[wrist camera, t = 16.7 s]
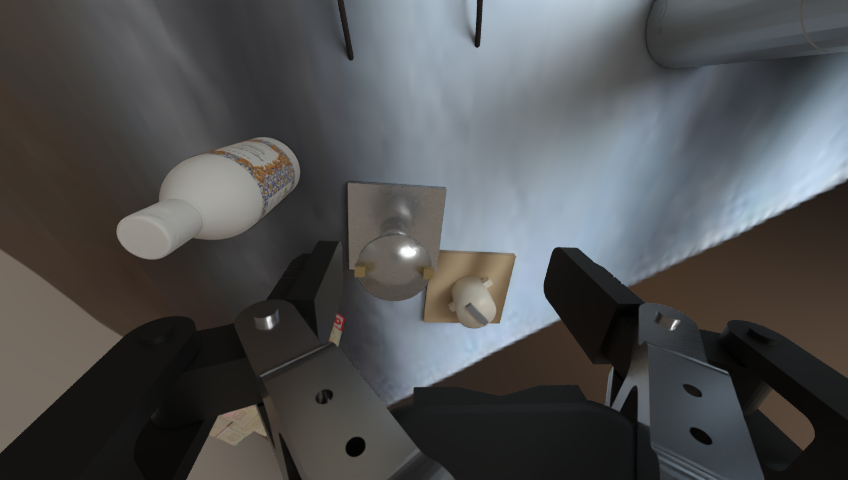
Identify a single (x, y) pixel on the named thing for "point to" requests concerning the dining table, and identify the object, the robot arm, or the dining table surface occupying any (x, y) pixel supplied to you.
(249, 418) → the stack of blocks
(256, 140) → the bath foam
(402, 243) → the knob on square base
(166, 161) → the dining table surface
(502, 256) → the coaster
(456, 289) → the cap
